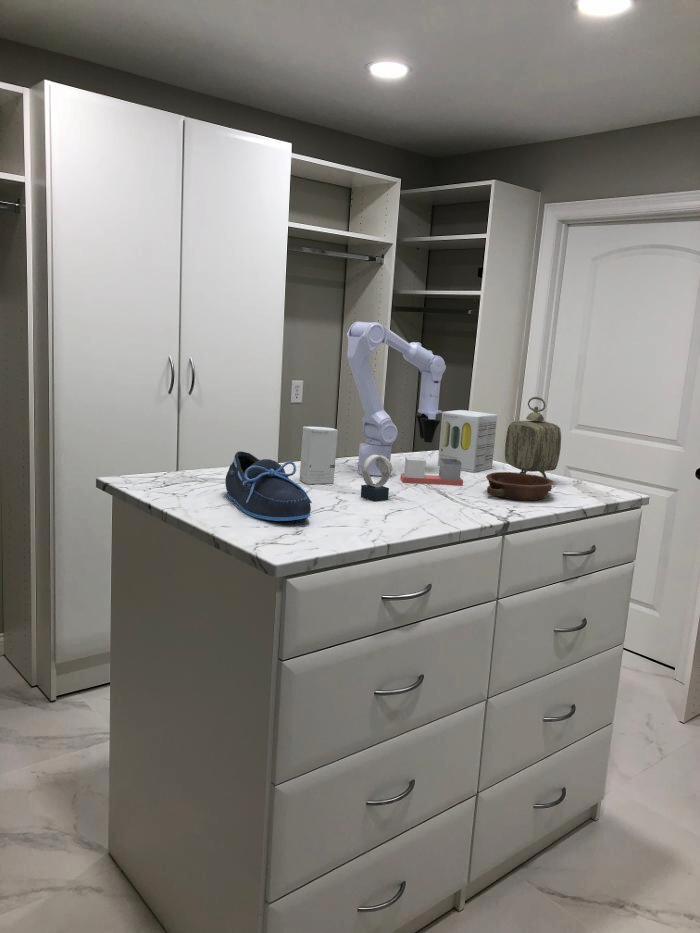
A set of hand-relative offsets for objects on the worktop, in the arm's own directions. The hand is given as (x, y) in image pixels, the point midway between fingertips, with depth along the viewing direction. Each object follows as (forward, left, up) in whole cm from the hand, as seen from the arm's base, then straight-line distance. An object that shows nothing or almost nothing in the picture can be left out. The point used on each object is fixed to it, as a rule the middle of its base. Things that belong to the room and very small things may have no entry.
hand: (425, 440), depth 230 cm
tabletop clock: (+30, -8, -10) cm, 32 cm away
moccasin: (-45, -55, -10) cm, 72 cm away
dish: (+21, -29, -10) cm, 37 cm away
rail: (0, -17, -9) cm, 19 cm away
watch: (-19, -41, -10) cm, 46 cm away
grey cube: (+5, -17, -8) cm, 19 cm away
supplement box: (+15, +10, -10) cm, 20 cm away
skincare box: (-33, -24, -10) cm, 42 cm away
